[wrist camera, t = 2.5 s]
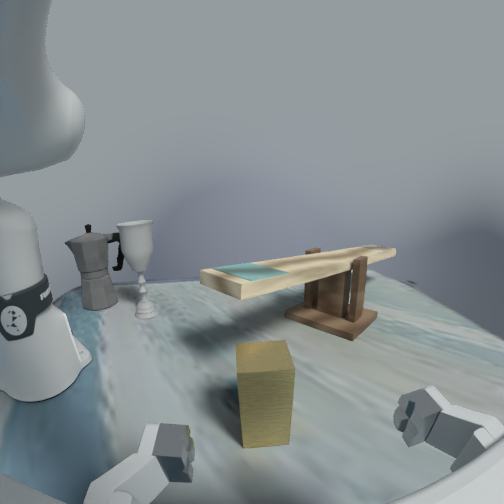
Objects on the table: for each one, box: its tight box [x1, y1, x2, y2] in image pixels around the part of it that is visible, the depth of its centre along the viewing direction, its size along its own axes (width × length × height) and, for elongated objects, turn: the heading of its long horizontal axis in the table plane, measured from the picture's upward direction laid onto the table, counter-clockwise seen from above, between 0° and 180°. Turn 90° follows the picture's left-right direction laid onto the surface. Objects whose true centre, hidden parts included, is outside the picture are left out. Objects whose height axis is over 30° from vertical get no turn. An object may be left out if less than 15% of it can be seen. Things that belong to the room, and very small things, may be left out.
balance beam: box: [200, 245, 396, 300], centre depth 46 cm, size 7×49×2 cm, turn 134°
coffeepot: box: [65, 224, 124, 311], centre depth 55 cm, size 15×9×18 cm, turn 100°
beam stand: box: [285, 248, 377, 341], centre depth 47 cm, size 14×10×12 cm
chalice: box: [116, 220, 159, 319], centre depth 50 cm, size 7×7×18 cm
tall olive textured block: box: [236, 340, 295, 448], centre depth 23 cm, size 4×4×10 cm
